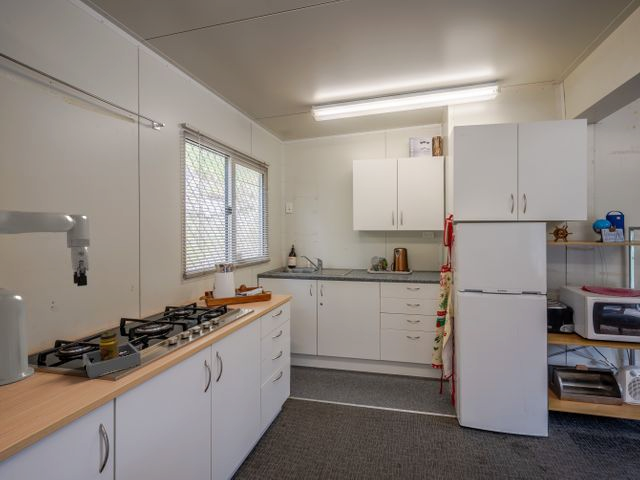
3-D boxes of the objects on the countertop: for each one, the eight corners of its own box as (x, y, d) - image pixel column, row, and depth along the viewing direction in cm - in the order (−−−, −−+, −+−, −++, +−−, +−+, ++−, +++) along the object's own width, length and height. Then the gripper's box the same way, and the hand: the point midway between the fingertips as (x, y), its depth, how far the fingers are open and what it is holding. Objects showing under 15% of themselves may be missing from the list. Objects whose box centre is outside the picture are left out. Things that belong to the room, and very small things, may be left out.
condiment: (96, 370, 115) (95, 338, 115) (102, 361, 123) (101, 331, 123) (119, 366, 118) (118, 335, 118) (123, 358, 126) (122, 329, 126)
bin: (90, 379, 109) (89, 365, 109) (83, 366, 120) (82, 354, 120) (140, 365, 121) (140, 352, 120) (130, 354, 131) (129, 342, 131)
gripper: (93, 244, 126) (95, 285, 127) (86, 243, 139) (87, 281, 139) (69, 245, 121) (71, 288, 122) (64, 244, 133) (66, 283, 134)
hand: (80, 284), depth 130 cm, fingers open, 9 cm apart
